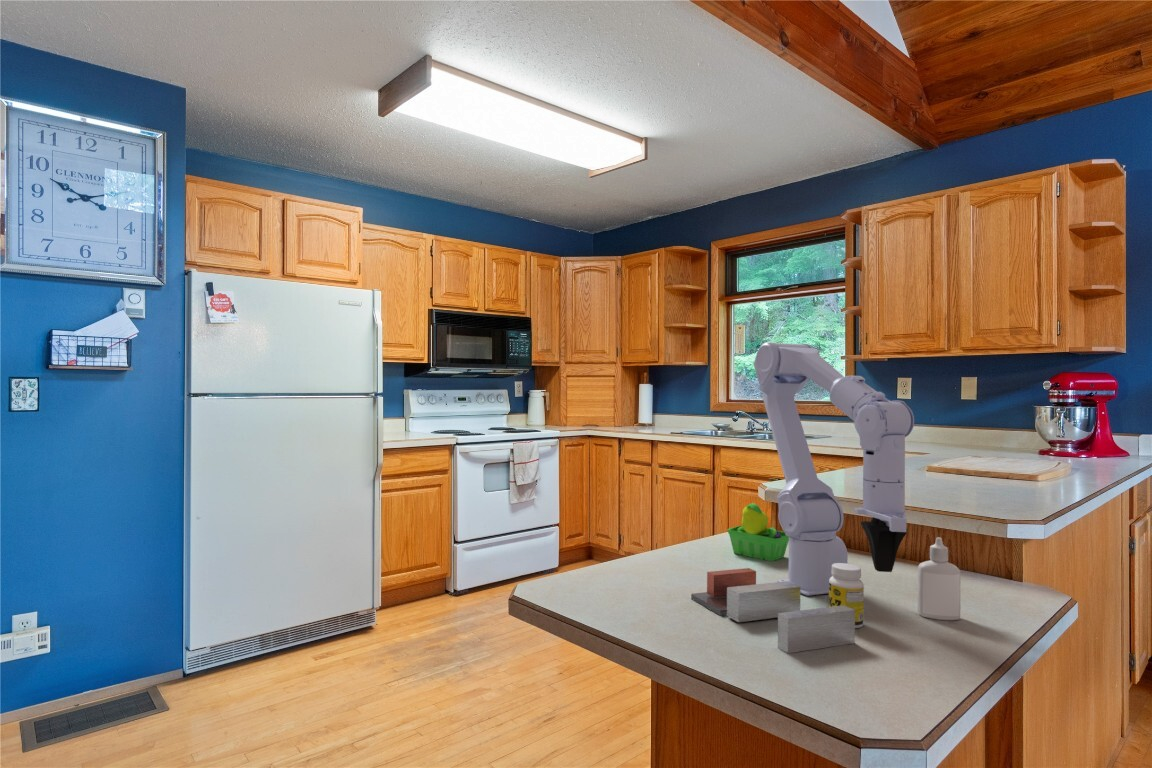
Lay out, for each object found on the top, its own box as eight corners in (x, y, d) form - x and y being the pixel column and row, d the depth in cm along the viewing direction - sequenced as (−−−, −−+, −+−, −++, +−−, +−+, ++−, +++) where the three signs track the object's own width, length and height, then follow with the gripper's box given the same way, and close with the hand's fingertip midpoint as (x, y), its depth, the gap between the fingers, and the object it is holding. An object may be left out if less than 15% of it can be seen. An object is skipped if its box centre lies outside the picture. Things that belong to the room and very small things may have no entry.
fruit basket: (792, 557, 134) (793, 503, 134) (772, 565, 128) (773, 507, 128) (743, 547, 142) (743, 496, 142) (722, 554, 135) (722, 500, 136)
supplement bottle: (822, 618, 97) (823, 562, 97) (852, 617, 97) (853, 561, 98) (838, 629, 92) (838, 570, 92) (869, 629, 93) (870, 570, 93)
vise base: (753, 591, 109) (753, 587, 109) (785, 607, 101) (785, 602, 101) (691, 598, 105) (691, 593, 105) (720, 615, 97) (720, 610, 97)
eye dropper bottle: (955, 624, 95) (956, 543, 95) (914, 615, 99) (914, 537, 99) (963, 617, 98) (963, 538, 98) (922, 608, 102) (923, 532, 102)
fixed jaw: (843, 637, 89) (844, 605, 89) (854, 643, 87) (854, 609, 87) (777, 647, 85) (778, 613, 85) (787, 653, 83) (787, 618, 84)
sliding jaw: (756, 593, 108) (756, 567, 108) (800, 614, 98) (800, 585, 98) (698, 599, 104) (699, 572, 104) (738, 622, 94) (738, 592, 94)
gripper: (844, 474, 105) (843, 557, 105) (868, 485, 91) (868, 582, 91) (890, 475, 104) (890, 559, 104) (922, 487, 90) (922, 585, 90)
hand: (883, 570), depth 97 cm, fingers closed
